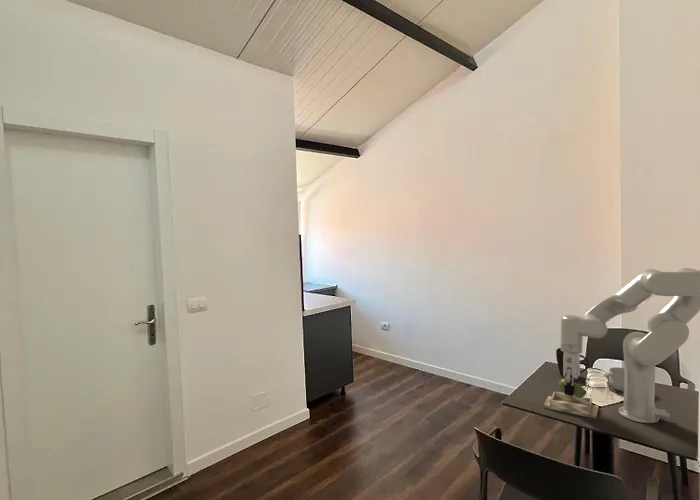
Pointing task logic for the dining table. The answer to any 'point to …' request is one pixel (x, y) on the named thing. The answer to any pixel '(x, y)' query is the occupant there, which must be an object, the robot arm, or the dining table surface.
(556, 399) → the open rectangular box
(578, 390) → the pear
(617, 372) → the teacup
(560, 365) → the mug
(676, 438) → the dining table surface
